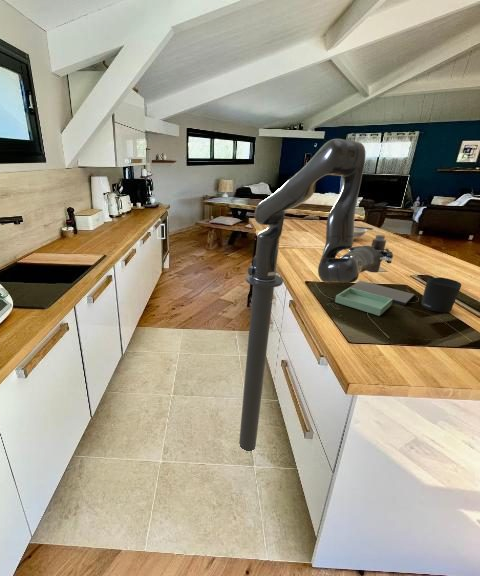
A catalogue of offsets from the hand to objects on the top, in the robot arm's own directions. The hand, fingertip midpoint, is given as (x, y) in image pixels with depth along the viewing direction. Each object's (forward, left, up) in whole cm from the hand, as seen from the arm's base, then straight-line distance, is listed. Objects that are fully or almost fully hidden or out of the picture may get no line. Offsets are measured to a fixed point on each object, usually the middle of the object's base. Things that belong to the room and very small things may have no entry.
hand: (379, 250), depth 109 cm
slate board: (+1, +12, -19) cm, 23 cm away
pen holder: (+19, +12, -20) cm, 30 cm away
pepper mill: (0, -3, -7) cm, 8 cm away
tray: (0, -4, -19) cm, 20 cm away
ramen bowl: (-47, +98, -20) cm, 110 cm away
